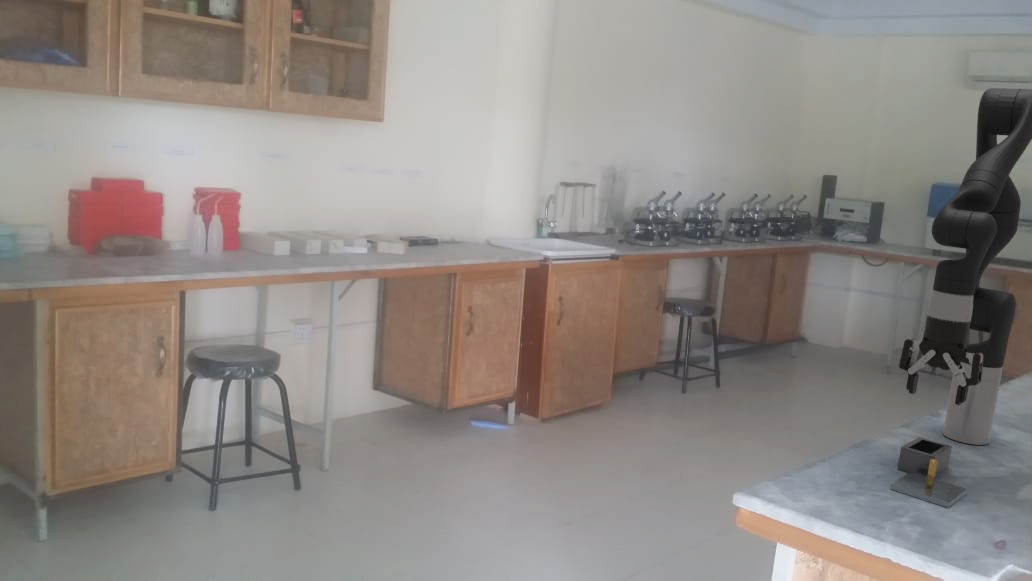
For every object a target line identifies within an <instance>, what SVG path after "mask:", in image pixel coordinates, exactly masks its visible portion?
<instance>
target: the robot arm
mask: <svg viewBox="0 0 1032 581" xmlns="http://www.w3.org/2000/svg"><path fill="white" fill-rule="evenodd" d="M979 101H980V102H979V105H978V108H977V109H978V111H977V120H976V121H977V123H976V149H975V160H974V161H973V163H971V165H970V166H969V167H968V169H967V170H966V173H965V174H964V177H963V180H962V182H961V183H960V184H961V185H960V187H959V188H958V191H957V192H956V193H955V194H954V195H953V196H952V197H951V199H949V201H948V202H946V203H945V205H944V206H942V208H941V209H940V211H939V212H938V213H937V214H936V215H935V218H934V219H933V222H932V224H931V235H932V238H933V241H935V243H936V244H938V245H940V246H944V247H948V248H949V247H950V248H956V249H957V248H958V249H965V256H964V257H963V258H957V259H956V258H955V259H944V260H943V259H942V260H940V261H939V262H938V263H937V265H936V268H935V274H934V280H933V285H932V290H931V295H930V298H929V302H928V306H927V309H926V320H925V325H924V329H923V330H924V331H923V338H922V340H921V341H919V340H915V338H913V337H912V338H911V337H910V338H907V339H905V340H904V343H903V347H902V351H901V355H900V360H899V364H898V367H899V369H900V370H903V371H905V372H906V373H907V374H908V375H907V383H906V390H907V391H908V394H912V395H914V394H916V393H917V389H918V382H919V377H920V374H919V373H918V372H919V371H921V370H922V369H923V368H925V367H926V366H927V365H929V367H930V368H939V369H941V370H944V371H951V373H952V378H951V385H950V389H949V390H950V391H949V396H948V402H947V408H946V413H945V420H944V425H943V431H942V434H943V435H944V436H945V437H947V438H948V439H951V440H953V441H956V442H959V443H965V444H968V445H969V444H970V445H977V446H978V445H979V446H985V445H988V444H989V443H990V440H991V434H992V429H993V424H994V419H995V412H996V408H997V402H998V398H999V397H998V396H999V391H1000V386H1001V385H1000V384H1001V380H1002V374H1003V368H1004V363H1005V359H1006V358H1005V357H1006V354H1007V348H1008V344H1009V338H1010V335H1011V331H1012V326H1013V323H1014V318H1015V313H1016V309H1017V301H1016V297H1015V295H1014V294H1013V293H1012V292H1007V291H1002V290H997V289H990V288H986V287H980V281H981V279H982V275H983V274H984V271H985V270H986V269H987V267H989V265H990V264H991V263H992V261H993V260H994V259H995V258H996V257H997V256H998V255H999V253H1001V252H1002V251H1003V250H1004V249H1005V247H1007V245H1008V244H1010V242H1012V239H1013V238H1014V236H1015V235H1016V234H1017V231H1018V227H1019V220H1020V213H1021V212H1020V211H1021V202H1022V200H1021V197H1020V194H1019V191H1018V189H1017V187H1016V185H1015V184H1014V182H1013V180H1012V177H1010V173H1011V172H1012V170H1013V168H1014V167H1015V165H1016V164H1017V162H1018V161H1019V160H1020V158H1021V156H1022V155H1023V154H1024V152H1025V151H1026V149H1027V148H1028V146H1029V145H1030V143H1031V141H1032V88H1005V87H1004V88H1002V87H1001V88H999V87H997V88H995V87H994V88H993V87H992V88H988V89H986V90H985V91H984V92H983V94H982V96H981V98H980V100H979ZM998 136H1007V137H1005V138H1004V139H1003V140H1001V142H1000V143H998ZM970 330H973V331H978V332H983V333H987V334H990V335H989V337H988V339H987V340H984V341H982V342H977V343H968V339H969V335H970V334H969V333H970ZM917 349H919V351H920V353H921V355H922V357H921V358H919V359H918V360H917V361H916V362H915V363H914V364H911V361H912V357H913V353H914V351H915V352H916V350H917Z"/></svg>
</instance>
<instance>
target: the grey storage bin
mask: <svg viewBox="0 0 1032 581" xmlns="http://www.w3.org/2000/svg"><path fill="white" fill-rule="evenodd" d="M952 447H953V446H952V445H949V444H945V443H942V442H938V441H935V440H931V439H927V438H924V437H921V436H919V437H917V438H915V439H914V440H913V439H912V441H910V442H908V443H905V444H904V445H903V446H901V447H900V452H899V458H898V465H897V470H899V471H901V472H905V473H907V474H908V473H910V472H914V473H917V474H920V475H923V476H927V475H928V469H929V464H930V459H935V460H937V467H936V473H935V477H937V476H938V475H939V474H941V473H943V472H944V471H946V470H947V469H949V465H950V460H951V454H952Z"/></svg>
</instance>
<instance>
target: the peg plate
mask: <svg viewBox="0 0 1032 581" xmlns="http://www.w3.org/2000/svg"><path fill="white" fill-rule="evenodd" d="M936 467H937V460H935V459H930V464H929V469H928V475H927V476H923V475H920V474H917V473H914V472H910V473H908V472H907V473H906V474H905V475H904V476H902V477H900V478H898V479H897V480H895V481H894V482H892V483H891V484H890V488H889V489H890V490H891V491H895V492H898V493H901V494H904V495H907V496H910V497H913V498H917V499H920V500H923V501H926V502H929V503H932V504H935V505H938V506H942V507H944V508H947V509H949V508H950V507H952V505H954V504H955V503H957V502H958V501H960V500H961V499H963V497H965V496H966V495H967V493H968V488H966V487H962V486H959V485H955V484H952V483H950V482H949V483H948V482H946V481H944V480H943V481H942V480H940V479H935V477H936V476H935V473H936Z"/></svg>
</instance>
